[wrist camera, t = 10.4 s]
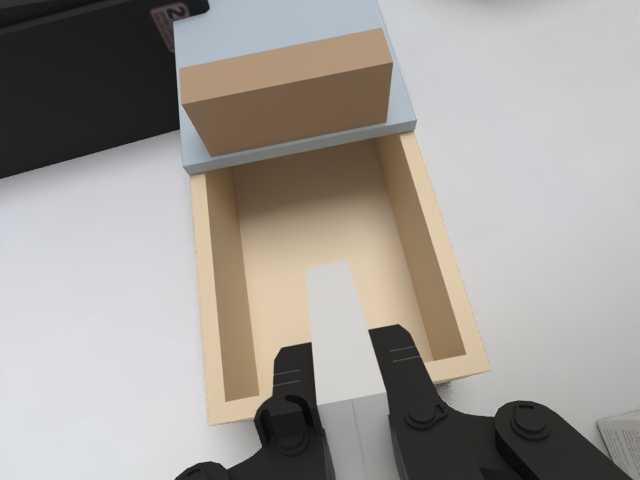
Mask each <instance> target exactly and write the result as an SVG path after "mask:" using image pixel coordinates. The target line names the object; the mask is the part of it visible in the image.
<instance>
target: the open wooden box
mask: <svg viewBox="0 0 640 480" xmlns="http://www.w3.org/2000/svg"><path fill="white" fill-rule="evenodd" d="M190 183H191V197H192V211H193V224H194V238H195V252H196V265H197V279H198V293H199V306H200V320H201V334H202V347H203V361H204V375H205V388H206V402H207V416H208V426H213V425H221V424H229V423H236V422H244V421H252V420H254V417H255V414H256V411H257V409H258V408H259V407H260V406H261V404H262V403H263V402H264V401H265V400H267V399H268V398H270V397H271V396H272V390H273V376H274V374H273V370H274V359H275V358H276V356H277V354H278V353H279V351H280V349H281V348H282V347H287V346H292V345H297V344H303V343H308V342H312V340H311V327H310V315H309V303H308V291H307V279H306V268H308V267H313V266H318V265H323V264H328V263H333V262H339V261H344V260H347V262H348V265H349V269H350V272H351V275H352V279H353V282H354V285H355V289H356V292H357V295H358V299H359V302H360V305H361V309H362V312H363V316H364V319H365V322H366V326H367V329H368V330H369V329H374V328H379V327H385V326H390V325H395V324H399V325H401V326H402V327H403V328H405V329H406V330H407V331H408V332H410V334H411V336H412V338H413V340H414V342H415V345H416V347H417V349H418V351H419V353H420V357H421V358H422V360H423V362H424V364H425V367H426V369H427V371H428V373H429V375H430V378H431V380H432V382H433V384H434V385H435V384H440V383H445V382H450V381H454V380H458V379H461V378H465V377H469V376H472V375H476V374H480V373H484V372H487V371H491V367H490V364H489V361H488V358H487V355H486V352H485V349H484V345H483V342H482V339H481V336H480V333H479V330H478V327H477V324H476V321H475V318H474V315H473V312H472V308H471V305H470V302H469V299H468V296H467V293H466V290H465V287H464V284H463V281H462V278H461V274H460V271H459V268H458V265H457V262H456V259H455V256H454V253H453V250H452V247H451V244H450V241H449V237H448V234H447V231H446V228H445V225H444V222H443V219H442V216H441V213H440V210H439V207H438V204H437V200H436V197H435V194H434V191H433V188H432V185H431V182H430V179H429V176H428V173H427V170H426V166H425V163H424V160H423V157H422V154H421V151H420V148H419V145H418V142H417V139H416V136H415V133H414V130H410V131H405V132H400V133H395V134H390V135H385V136H380V137H375V138H370V139H365V140H360V141H355V142H350V143H345V144H340V145H335V146H330V147H325V148H320V149H315V150H310V151H304V152H299V153H294V154H289V155H284V156H279V157H274V158H269V159H264V160H259V161H254V162H249V163H244V164H239V165H234V166H229V167H224V168H219V169H214V170H209V171H204V172H199V173H194V174H190Z"/></svg>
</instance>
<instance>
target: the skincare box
mask: <svg viewBox="0 0 640 480" xmlns="http://www.w3.org/2000/svg"><path fill="white" fill-rule="evenodd" d="M597 425H598V427H599V429H600V432H601V434H602V436H603V439H604V441H605V443H606V446H607V448H608V450H609V453H610V455H611V457H612V460H613V462H614V463H615V464H616V465H617V466H618V467H619V468H620V469H621V470H623V471H624V472H625V473H626V474H627V475H628V476H630V477H631V478H632V479H633V480H640V410H637V411H633V412H629V413H625V414H620V415H616V416H612V417H608V418H604V419H600V420H597Z"/></svg>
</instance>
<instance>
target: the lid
mask: <svg viewBox="0 0 640 480" xmlns="http://www.w3.org/2000/svg"><path fill="white" fill-rule="evenodd" d="M208 2H209V6H210V9H209V10H208V11H207V12H206V13H203V14H200V15H196V16H192V17H188V18H185V19H181V20H177V21H174V22H173V27H174V42H175V57H176V72H177V87H178V102H179V117H180V132H181V147H182V162H183V167H184V169H185V170H186V172H187V173H188V174H194V173H199V172H204V171H209V170H214V169H219V168H224V167H229V166H234V165H239V164H244V163H249V162H254V161H259V160H264V159H269V158H274V157H279V156H284V155H289V154H294V153H299V152H304V151H310V150H315V149H320V148H325V147H330V146H335V145H340V144H345V143H350V142H355V141H360V140H365V139H370V138H375V137H380V136H385V135H390V134H395V133H400V132H405V131H410V130H415V126H416V122H417V119H416V116H415V113H414V110H413V107H412V104H411V101H410V97H409V94H408V91H407V88H406V85H405V82H404V79H403V76H402V73H401V70H400V67H399V64H398V61H397V58H396V55H395V52H394V49H393V46H392V43H391V40H390V37H389V34H388V31H387V28H386V25H385V22H384V19H383V16H382V13H381V10H380V7H379V4H378V1H377V0H208Z"/></svg>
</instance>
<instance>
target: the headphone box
mask: <svg viewBox="0 0 640 480" xmlns="http://www.w3.org/2000/svg"><path fill="white" fill-rule="evenodd" d="M209 9H210V6H209V2H208V0H0V179H2V178H5V177H9V176H12V175H16V174H20V173H23V172H27V171H31V170H34V169H38V168H41V167H45V166H49V165H52V164H56V163H59V162H63V161H67V160H70V159H74V158H78V157H81V156H85V155H88V154H92V153H96V152H99V151H103V150H106V149H110V148H114V147H117V146H121V145H125V144H128V143H132V142H135V141H139V140H143V139H146V138H150V137H153V136H157V135H161V134H164V133H168V132H172V131H175V130H179V129H180V117H179V102H178V87H177V72H176V57H175V42H174V27H173V22H174V21H177V20H181V19H185V18H188V17H192V16H196V15H200V14H203V13H206V12H207V11H208V10H209Z"/></svg>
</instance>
